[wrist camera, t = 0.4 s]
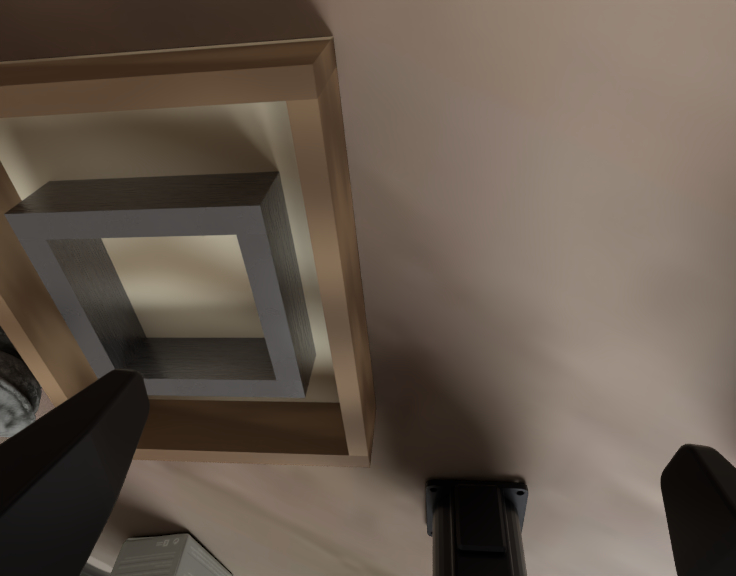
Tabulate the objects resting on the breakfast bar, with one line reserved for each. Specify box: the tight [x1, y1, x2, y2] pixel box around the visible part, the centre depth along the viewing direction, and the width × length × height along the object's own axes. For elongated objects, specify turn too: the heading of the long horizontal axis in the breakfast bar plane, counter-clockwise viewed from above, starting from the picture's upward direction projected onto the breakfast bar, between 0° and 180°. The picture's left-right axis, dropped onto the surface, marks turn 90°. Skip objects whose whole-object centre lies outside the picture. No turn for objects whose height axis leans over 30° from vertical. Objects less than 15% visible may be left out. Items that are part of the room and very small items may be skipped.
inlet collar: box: [4, 171, 316, 398], centre depth 24 cm, size 10×10×3 cm
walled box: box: [0, 36, 376, 468], centre depth 24 cm, size 20×16×4 cm
